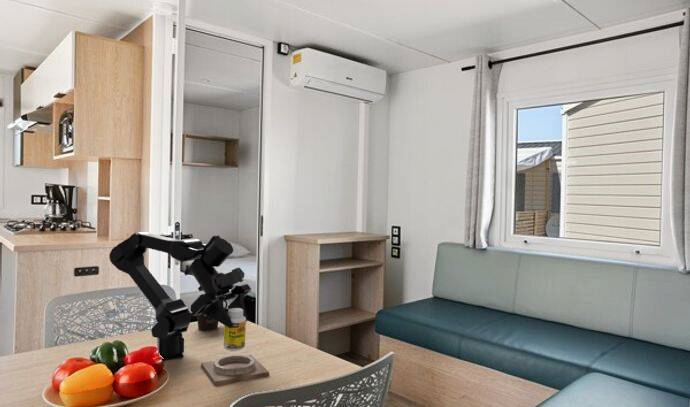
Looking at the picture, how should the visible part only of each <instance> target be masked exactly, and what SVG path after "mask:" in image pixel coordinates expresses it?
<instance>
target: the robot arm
mask: <svg viewBox="0 0 690 407" xmlns="http://www.w3.org/2000/svg"><path fill="white" fill-rule="evenodd" d="M148 249H150V250H154V251H158V252H162V253H166V254H168V255H170V257H171V258H172V259H175V260H176V261H179V262H180V263H184V262H190V261H192V262H191V263H190V264H186V265H185V269H184V272H183V273H184V274H183V275H184V276H189V275H193V277H194V279H195V280H196V282H197V283H198V285H199V286H198V287H197V289H198V291H199V292H203V294H199V296H198V297H196V298H195V300H194V301H193V302H192V303H191V304H190V307H188V306H187V305H186V304H185V302H184V300H183V299H182V298H177V299H172V298H171V297H170V296H169V294H168V293H167V292H166V291H165V290H164V288H163V286H162V285H161V284H160V283H159V281H157V279H156V278H155V277H154V275H153V274H152V272H151V270H149V269H148V268H147V267H146V264H145V255H144V254H146V252H147V250H148ZM233 253H234V247H233V245H232V244H231V243H230V242H229V241H227V240H226V239H224V238H222V237H220V235H213V236H211V237H210V239H209V241H208V243H206V244H205V243H203V241H202V240H200V239H197V238H196V239H195V238H190V239H189V238H188V239H186V238H185V239H176V238H172V237H167V236H165V235H164V236H163V235H159V234H154V233H151V232H148V231H141V232H140V231H139V232H133V234H131V235H130V236H129V237H128V238H127V239H125V240H123V241H121V242H119V243H118V244H117V245H115V246H114V247H113V248H112V249H111V250H110V252H109V258H108V259H109V261H110V263H111V264H112V265H113V266H114V267H115V268H116V269H117V270H118V271H120V272H123V273H125V274H127V275H129V277H130V278H131V279H132V280H133V283H135V285H136V286H137V288H138V289H139V290H140V291H141V292H142V294H143V295H144V296H145V297H146V299H147V300H148V302H149V303H150V304H151V306H152V307H153V308H154V310H155V320H156V323H155V325H154V326H153V327H152V328H151V329H150V331H151V335H152V338H156V340H157V342H156V346H157V348H158V350H159V353H160V355H161V356H162V357H163V358H164V360H163V361H166V360H173V359H179V358H183V357H184V353H185V338H184V337H183V333H185V332H187V331H188V328H189V325H190V324H191V317H192V315H193V316H194V317H197V315H200V314H202V313H203V307H204V308H205V312H204V313H203V315H204V316H208V317H210V318H212V319H214V320H216V321H218V323H220V324H222V325H223V326H224V325H225V326H227V327H229V328H232V327H233V323H232V321H231V319H230V318H229V316H228V311H226V309H224V308H225V306H224V301H227V303H228V304H229V305H227V308H228V310H229V309H231V308H241V309H243V316H245V318H246V323H247V322H248V316H247V312H246V308H245V304H244V303H245V302H244V300H245V297H246V296H247V295H248V294H249V293H250V292H251V291H252V288H251V286H250V285H249V283H242V282H244V278H245V272H244V271H243V270H242V269H241V268H240V267H235V268H234V269H231V271H229V272H227V273H223V272H218V271H217V269H216V268H219V267H221V265H223V264H224V263H225V261H227V259H228V258H229V257H230V256H231V255H232V254H233ZM215 267H216V268H215ZM238 283H240V284H238ZM236 284H237V285H236ZM234 285H235V286H234ZM230 290H231V291H230ZM157 348H156V349H157Z"/></svg>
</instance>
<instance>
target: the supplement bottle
mask: <svg viewBox="0 0 690 407" xmlns="http://www.w3.org/2000/svg"><path fill="white" fill-rule="evenodd" d="M227 314H228V316H229V318H230V319H231V321H232V323H233V327H232V328H229V327H227V326H225V325H224V324H223V348H224V350H226V351H231V352H235V351H236V352H237V351H241V350H243V349H244V348H245V347H246V331H247V330H246V329H247V328H246V327H247V322H246V318H245V316H243V309H241V308H231V309H229V308H228V309H227Z"/></svg>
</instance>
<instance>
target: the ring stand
mask: <svg viewBox="0 0 690 407" xmlns="http://www.w3.org/2000/svg"><path fill="white" fill-rule="evenodd" d="M200 367H201V369H203V370H202V371H204V373H205V374H206V375H207V377H208V378H209V379H210V382H212V384H213V385H214V386H219V385H220V386H221V385H226V384H231V383H236V382H241V381H247V380H253V379H257V378H263V377H268V376H270V371H269V370H268V369H267V368H266V367H265V366H264V365H263V364H262V363H260V361H258V360H257V359H256V358H255V356H253V355H252V354H248V355H247V354H228V355H223V356H221V357H218V358H216V359H215V360H209V361H204V362H200Z"/></svg>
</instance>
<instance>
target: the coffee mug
mask: <svg viewBox="0 0 690 407" xmlns="http://www.w3.org/2000/svg"><path fill="white" fill-rule="evenodd" d="M223 303H225V306H224V309H225V310H226V309H227V308H228V306H229V305H228V304H229V303H228V301H227V300H226V301H223ZM204 312H205V308H204V307H203V313H204ZM203 313H202V314H200V315H196V317H197V318H196V319H197V329H198V330H199V331H202V332H209V331H214V330H218V329H219V328H218V327H219V322H218V321H216V320H214V319H212V318H210V317H208V316H204V315H203Z"/></svg>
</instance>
